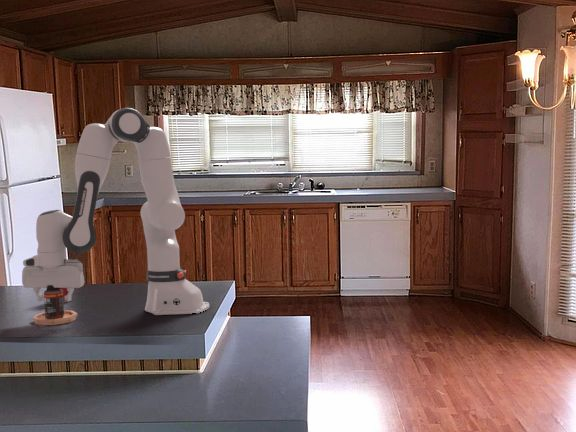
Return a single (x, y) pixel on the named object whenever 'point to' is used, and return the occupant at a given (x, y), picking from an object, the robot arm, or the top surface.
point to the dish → (67, 318)
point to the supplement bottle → (53, 302)
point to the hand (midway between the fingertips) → (54, 300)
